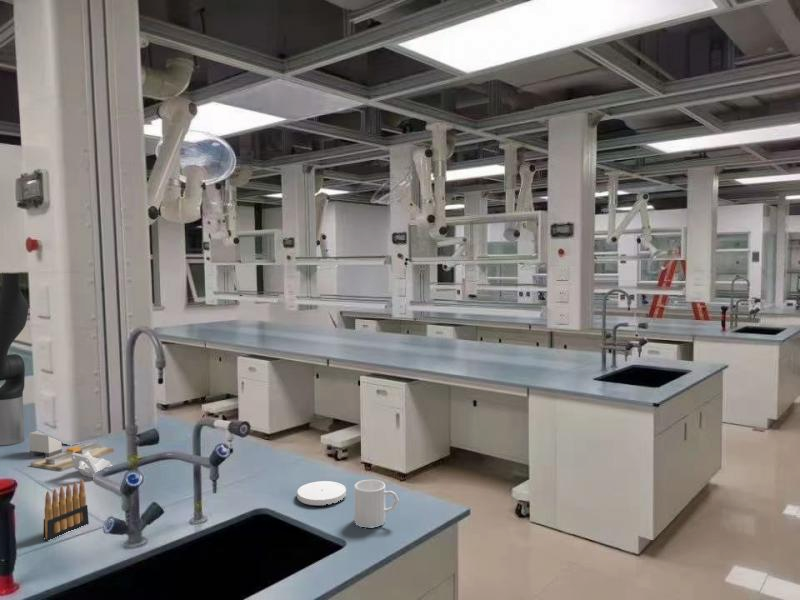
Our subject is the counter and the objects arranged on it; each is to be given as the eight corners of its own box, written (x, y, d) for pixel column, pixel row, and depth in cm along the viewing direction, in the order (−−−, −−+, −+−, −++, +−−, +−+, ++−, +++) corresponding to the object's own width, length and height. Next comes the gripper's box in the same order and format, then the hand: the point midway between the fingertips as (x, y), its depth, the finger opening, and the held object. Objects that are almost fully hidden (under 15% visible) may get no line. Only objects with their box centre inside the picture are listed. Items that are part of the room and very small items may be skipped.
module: (30, 455, 200) (29, 433, 200) (43, 450, 205) (42, 429, 205) (49, 458, 197) (48, 435, 197) (61, 453, 202) (61, 431, 202)
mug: (393, 533, 141) (393, 494, 141) (349, 526, 145) (349, 488, 145) (403, 519, 149) (403, 483, 149) (361, 513, 153) (361, 477, 152)
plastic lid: (288, 505, 159) (288, 496, 159) (311, 486, 172) (311, 478, 172) (333, 511, 155) (333, 502, 155) (353, 492, 168) (353, 484, 168)
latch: (66, 451, 196) (66, 448, 196) (74, 449, 199) (73, 446, 199) (73, 452, 195) (72, 449, 195) (80, 450, 198) (80, 447, 198)
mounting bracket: (78, 478, 184) (63, 452, 180) (94, 464, 189) (80, 439, 185) (101, 484, 178) (87, 458, 174) (118, 470, 183) (104, 444, 179)
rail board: (30, 466, 189) (30, 458, 189) (84, 447, 209) (84, 440, 209) (62, 470, 185) (61, 463, 185) (113, 451, 205) (113, 444, 205)
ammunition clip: (48, 541, 137) (46, 493, 137) (43, 540, 138) (41, 491, 137) (88, 523, 147) (87, 478, 146) (84, 522, 148) (82, 477, 147)
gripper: (94, 333, 207) (95, 377, 208) (60, 338, 193) (61, 385, 194) (110, 334, 204) (111, 379, 205) (77, 339, 191) (77, 387, 192)
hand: (86, 382), depth 200 cm, fingers open, 8 cm apart
